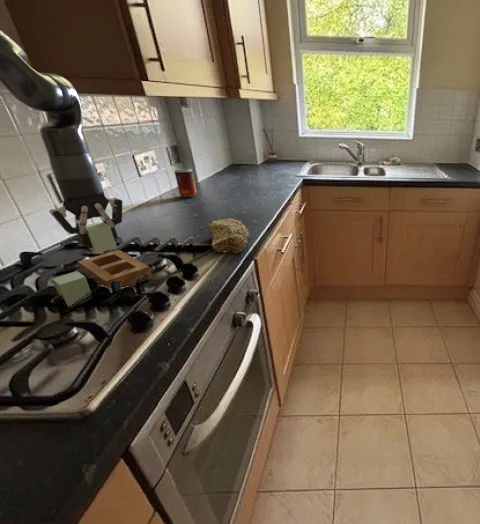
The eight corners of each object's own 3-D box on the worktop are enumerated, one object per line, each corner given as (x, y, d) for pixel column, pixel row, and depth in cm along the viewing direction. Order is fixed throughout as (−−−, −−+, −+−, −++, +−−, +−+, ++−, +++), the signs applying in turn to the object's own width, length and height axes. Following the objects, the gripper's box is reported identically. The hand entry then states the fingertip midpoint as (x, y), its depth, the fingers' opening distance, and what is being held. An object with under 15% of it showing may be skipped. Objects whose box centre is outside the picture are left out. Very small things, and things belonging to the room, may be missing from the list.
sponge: (251, 257, 99) (253, 222, 114) (242, 236, 94) (245, 202, 109) (206, 267, 97) (214, 230, 112) (194, 246, 92) (205, 211, 107)
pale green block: (69, 309, 70) (59, 284, 68) (62, 302, 72) (51, 278, 70) (94, 300, 74) (85, 276, 71) (86, 294, 76) (77, 270, 73)
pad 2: (96, 253, 80) (88, 230, 77) (89, 249, 82) (80, 226, 79) (117, 248, 83) (109, 225, 80) (109, 243, 85) (101, 221, 83)
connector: (110, 294, 76) (106, 281, 75) (82, 273, 84) (77, 261, 83) (152, 278, 83) (149, 266, 81) (122, 261, 91) (119, 249, 89)
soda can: (181, 194, 153) (175, 167, 148) (198, 194, 155) (193, 167, 150) (178, 198, 147) (172, 170, 142) (196, 198, 149) (190, 170, 144)
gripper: (106, 167, 82) (126, 232, 89) (29, 176, 71) (59, 249, 78) (120, 172, 78) (139, 239, 85) (40, 182, 67) (71, 257, 75)
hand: (101, 243), depth 82 cm, fingers closed on pad 2, 4 cm apart
